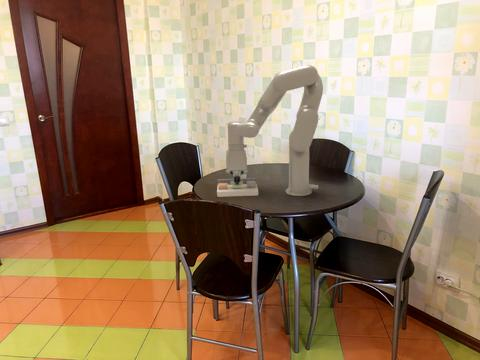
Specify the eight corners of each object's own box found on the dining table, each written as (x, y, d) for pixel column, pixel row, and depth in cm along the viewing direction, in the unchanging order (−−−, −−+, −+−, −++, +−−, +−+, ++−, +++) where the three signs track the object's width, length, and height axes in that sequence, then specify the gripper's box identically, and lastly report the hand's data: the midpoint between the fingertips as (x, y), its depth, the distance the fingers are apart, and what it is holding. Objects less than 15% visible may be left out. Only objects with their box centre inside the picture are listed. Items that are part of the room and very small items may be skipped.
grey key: (255, 183, 190) (255, 180, 190) (256, 186, 186) (256, 183, 185) (246, 183, 190) (246, 180, 189) (246, 186, 185) (246, 183, 185)
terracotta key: (227, 185, 190) (227, 183, 189) (227, 188, 185) (227, 185, 185) (218, 186, 190) (218, 183, 189) (218, 188, 185) (218, 185, 185)
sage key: (241, 185, 190) (241, 182, 190) (242, 187, 186) (241, 185, 185) (232, 185, 190) (232, 182, 189) (232, 188, 185) (232, 185, 185)
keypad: (256, 187, 196) (255, 178, 195) (258, 195, 183) (258, 185, 182) (217, 188, 196) (217, 179, 195) (217, 196, 182) (216, 186, 181)
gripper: (250, 145, 186) (251, 181, 191) (220, 146, 186) (222, 182, 191) (251, 148, 179) (252, 185, 184) (220, 149, 179) (222, 186, 183)
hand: (237, 183), depth 187 cm, fingers closed
